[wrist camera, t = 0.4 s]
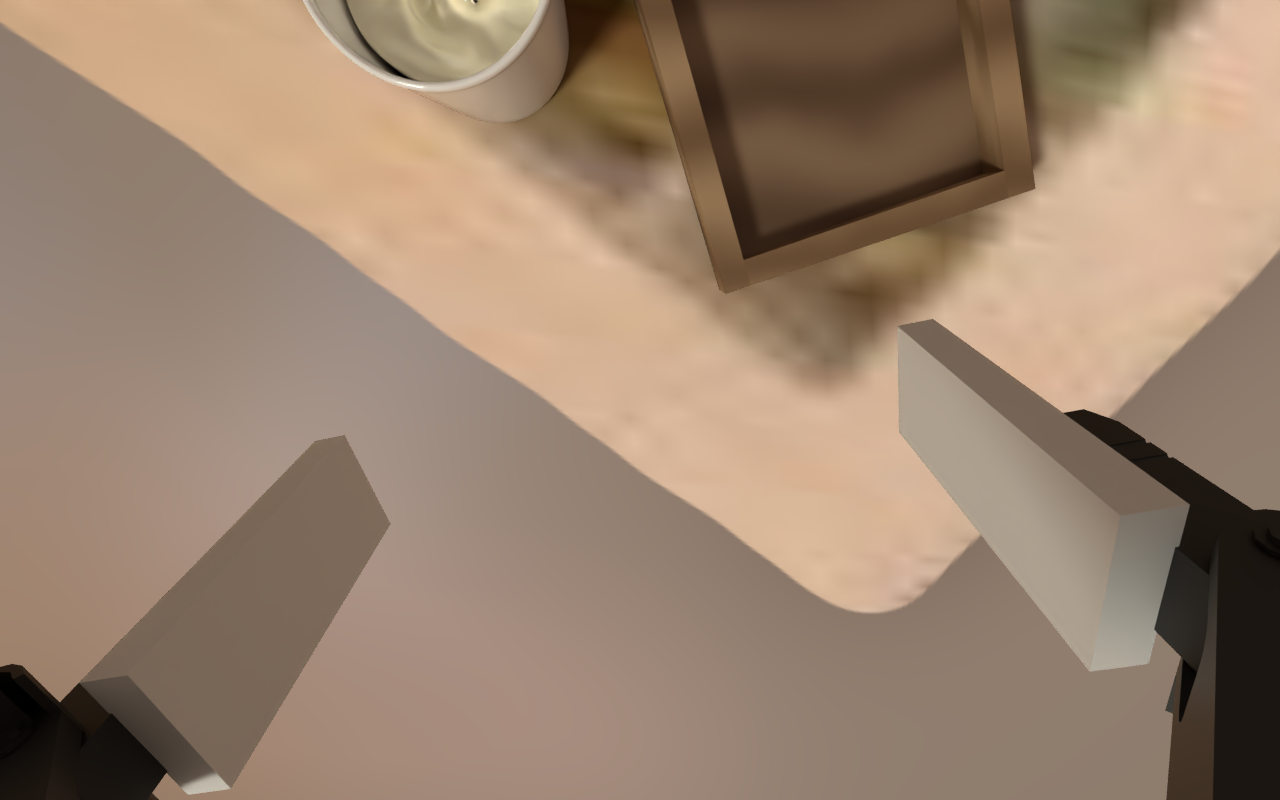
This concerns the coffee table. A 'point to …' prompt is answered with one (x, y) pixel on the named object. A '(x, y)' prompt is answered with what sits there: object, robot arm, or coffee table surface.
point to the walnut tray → (836, 120)
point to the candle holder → (456, 49)
